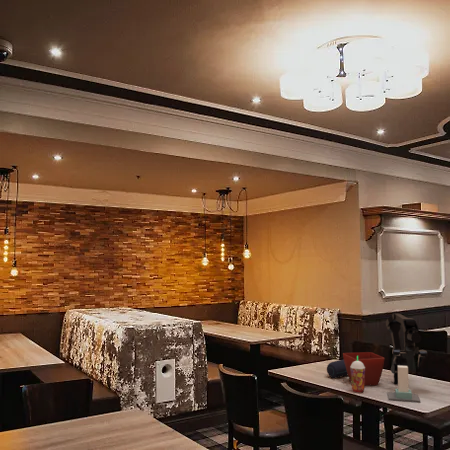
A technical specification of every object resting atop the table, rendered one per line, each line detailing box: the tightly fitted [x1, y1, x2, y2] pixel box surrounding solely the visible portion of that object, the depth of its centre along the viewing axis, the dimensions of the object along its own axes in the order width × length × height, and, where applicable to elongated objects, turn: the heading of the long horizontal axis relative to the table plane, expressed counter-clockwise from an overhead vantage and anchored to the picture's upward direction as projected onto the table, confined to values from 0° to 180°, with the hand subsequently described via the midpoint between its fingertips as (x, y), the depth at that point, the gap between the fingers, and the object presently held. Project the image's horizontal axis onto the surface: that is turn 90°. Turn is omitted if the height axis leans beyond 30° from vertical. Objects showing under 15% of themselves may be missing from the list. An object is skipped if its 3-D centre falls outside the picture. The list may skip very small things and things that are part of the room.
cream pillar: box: [397, 365, 410, 392], centre depth 267 cm, size 5×5×13 cm
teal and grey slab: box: [387, 388, 421, 404], centre depth 268 cm, size 16×14×4 cm
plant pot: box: [342, 351, 385, 387], centre depth 300 cm, size 19×19×17 cm
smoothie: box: [350, 356, 365, 394], centre depth 282 cm, size 8×8×20 cm
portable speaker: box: [326, 358, 348, 379], centre depth 319 cm, size 25×10×10 cm, turn 132°
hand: (409, 367), depth 283 cm, fingers open, 9 cm apart
